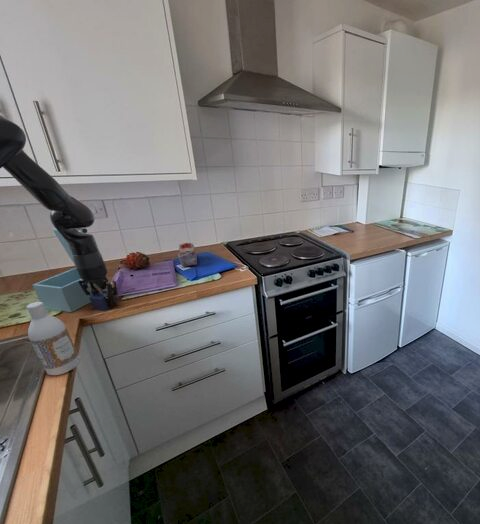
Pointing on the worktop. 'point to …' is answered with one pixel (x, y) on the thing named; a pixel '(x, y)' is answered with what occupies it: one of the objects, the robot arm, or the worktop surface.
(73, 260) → the lid
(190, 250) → the food item
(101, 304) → the block
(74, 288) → the light blue storage bin
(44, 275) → the worktop surface
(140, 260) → the dragon fruit
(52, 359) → the bath foam
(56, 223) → the robot arm
